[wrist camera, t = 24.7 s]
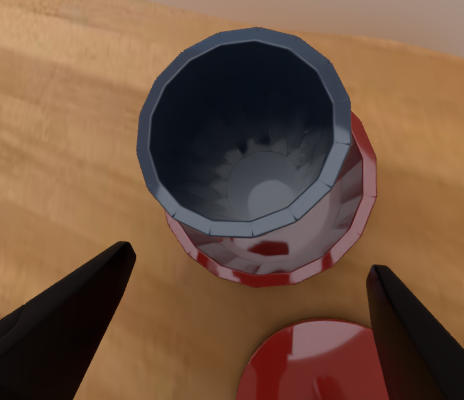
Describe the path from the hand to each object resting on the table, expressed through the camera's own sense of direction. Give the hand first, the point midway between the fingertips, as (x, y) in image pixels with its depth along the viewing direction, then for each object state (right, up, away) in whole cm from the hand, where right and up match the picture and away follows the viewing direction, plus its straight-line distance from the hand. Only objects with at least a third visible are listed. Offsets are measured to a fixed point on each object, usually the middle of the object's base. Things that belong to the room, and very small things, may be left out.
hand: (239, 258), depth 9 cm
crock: (+2, +3, +10) cm, 11 cm away
